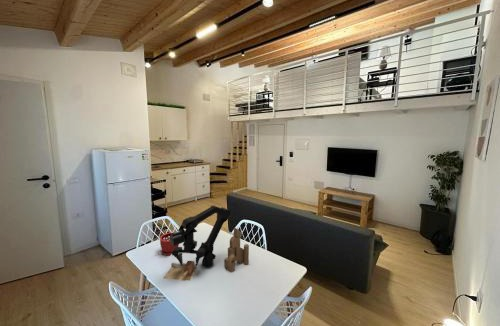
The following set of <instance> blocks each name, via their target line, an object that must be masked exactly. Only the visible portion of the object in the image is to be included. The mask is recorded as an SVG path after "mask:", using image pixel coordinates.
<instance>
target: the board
mask: <svg viewBox="0 0 500 326" xmlns="http://www.w3.org/2000/svg"><path fill="white" fill-rule="evenodd" d="M185 264H186V263H184V262H183V264H182V265H181V264H180V262H171V264H170V265H171V267H170V268H169V270H168V271H167V273H165V275H164V276H163V278H162V279H165V280H166V279H167V280H177V281H178V280H180V281H191V279H192V278H193V276H194V274H195V272H196V271H197V269H198V265H197V266H196V263H194V267H195V270H194V271H193V273H192V275H191V276H186V279H184V277H183V275H184V266H185Z"/></svg>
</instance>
